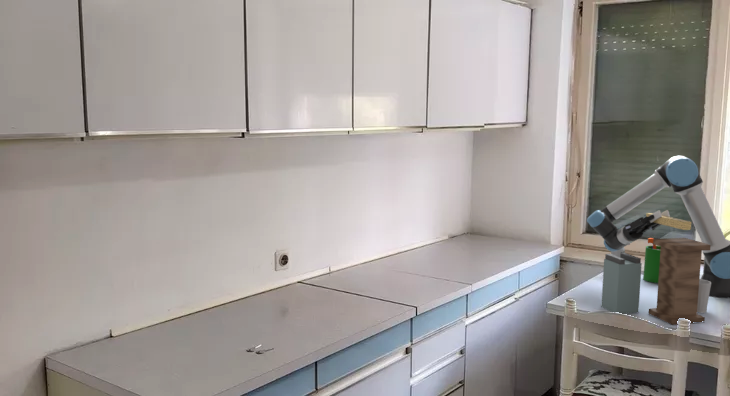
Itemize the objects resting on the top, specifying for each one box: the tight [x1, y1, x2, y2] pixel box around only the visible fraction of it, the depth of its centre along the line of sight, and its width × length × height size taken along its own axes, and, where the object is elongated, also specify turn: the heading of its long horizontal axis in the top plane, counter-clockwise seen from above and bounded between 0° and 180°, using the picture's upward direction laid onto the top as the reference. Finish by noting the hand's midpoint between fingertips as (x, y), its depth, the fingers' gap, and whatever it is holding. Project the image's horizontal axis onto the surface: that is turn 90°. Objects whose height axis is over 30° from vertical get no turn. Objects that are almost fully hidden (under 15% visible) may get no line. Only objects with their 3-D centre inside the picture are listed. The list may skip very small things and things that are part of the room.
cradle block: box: [600, 252, 643, 314], centre depth 259 cm, size 10×10×22 cm
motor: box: [642, 237, 661, 284], centre depth 305 cm, size 10×9×20 cm
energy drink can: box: [610, 247, 626, 258], centre depth 313 cm, size 6×6×15 cm
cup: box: [697, 278, 711, 314], centre depth 259 cm, size 8×8×12 cm
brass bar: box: [645, 212, 692, 231], centre depth 253 cm, size 22×3×3 cm, turn 13°
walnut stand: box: [648, 237, 711, 326], centre depth 249 cm, size 14×14×30 cm
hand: (664, 213), depth 255 cm, fingers closed on brass bar, 3 cm apart
